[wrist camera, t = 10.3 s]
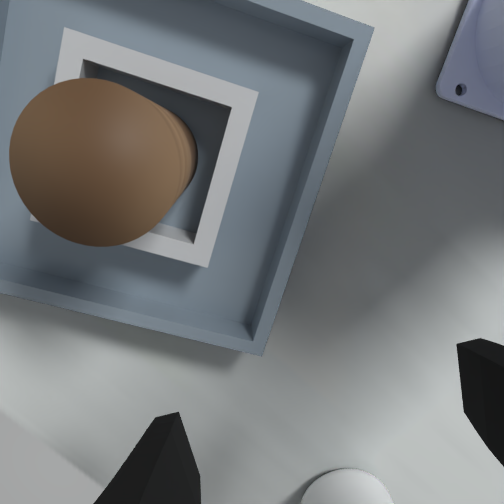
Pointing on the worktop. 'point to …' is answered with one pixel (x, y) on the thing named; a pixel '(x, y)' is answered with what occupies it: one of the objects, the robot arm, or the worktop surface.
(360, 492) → the drinking glass
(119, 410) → the worktop surface
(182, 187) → the walnut peg
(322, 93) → the candle dish
